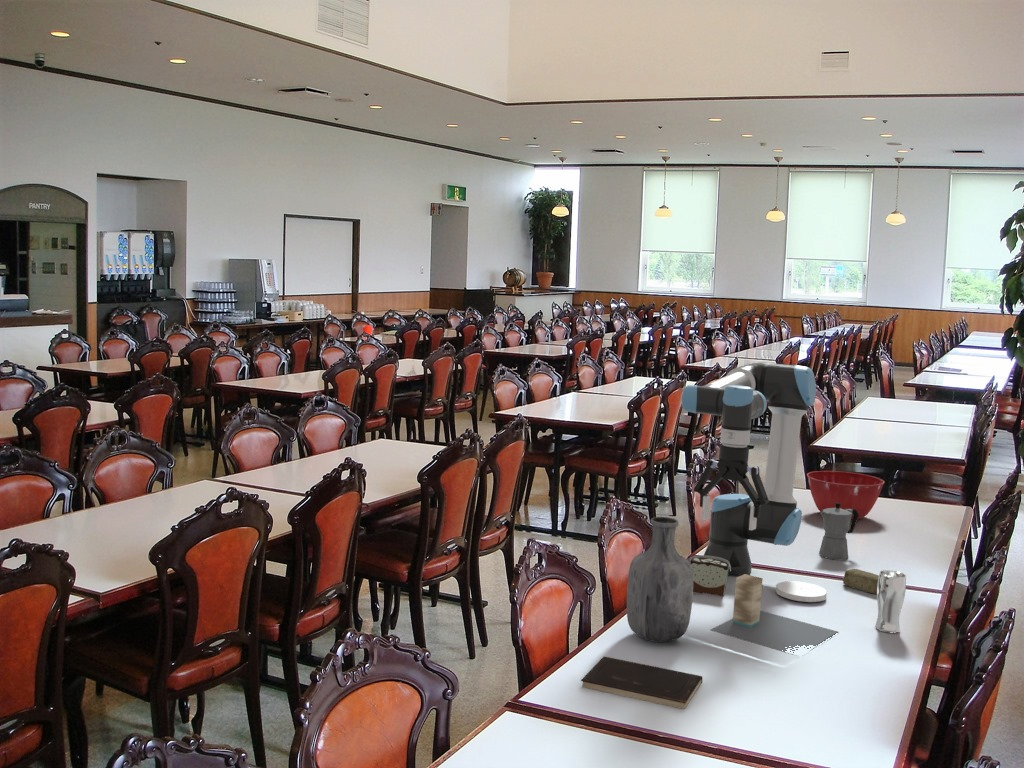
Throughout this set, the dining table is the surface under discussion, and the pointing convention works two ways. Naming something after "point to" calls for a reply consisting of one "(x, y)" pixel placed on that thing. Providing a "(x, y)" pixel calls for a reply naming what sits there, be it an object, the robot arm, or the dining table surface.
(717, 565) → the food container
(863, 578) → the stone block
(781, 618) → the mat
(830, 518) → the coffeepot
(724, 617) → the dining table surface
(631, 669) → the hardcover book
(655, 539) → the vase
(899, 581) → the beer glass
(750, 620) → the maple block
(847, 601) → the dining table surface
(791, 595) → the plastic lid
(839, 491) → the mixing bowl
